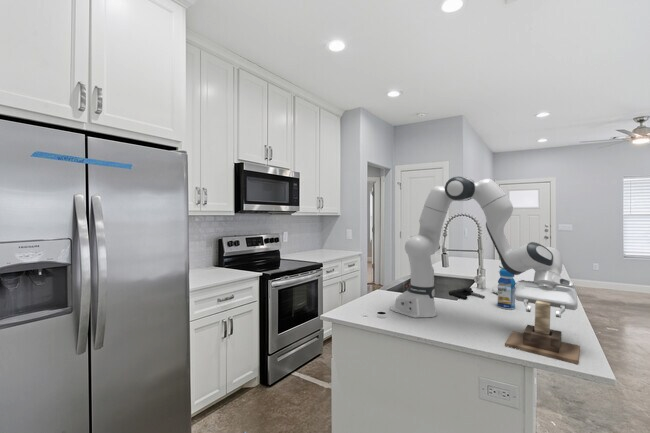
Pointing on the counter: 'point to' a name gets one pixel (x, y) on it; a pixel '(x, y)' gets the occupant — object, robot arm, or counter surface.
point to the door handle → (464, 293)
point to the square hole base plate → (544, 344)
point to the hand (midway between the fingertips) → (542, 313)
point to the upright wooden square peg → (542, 317)
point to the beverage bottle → (506, 290)
